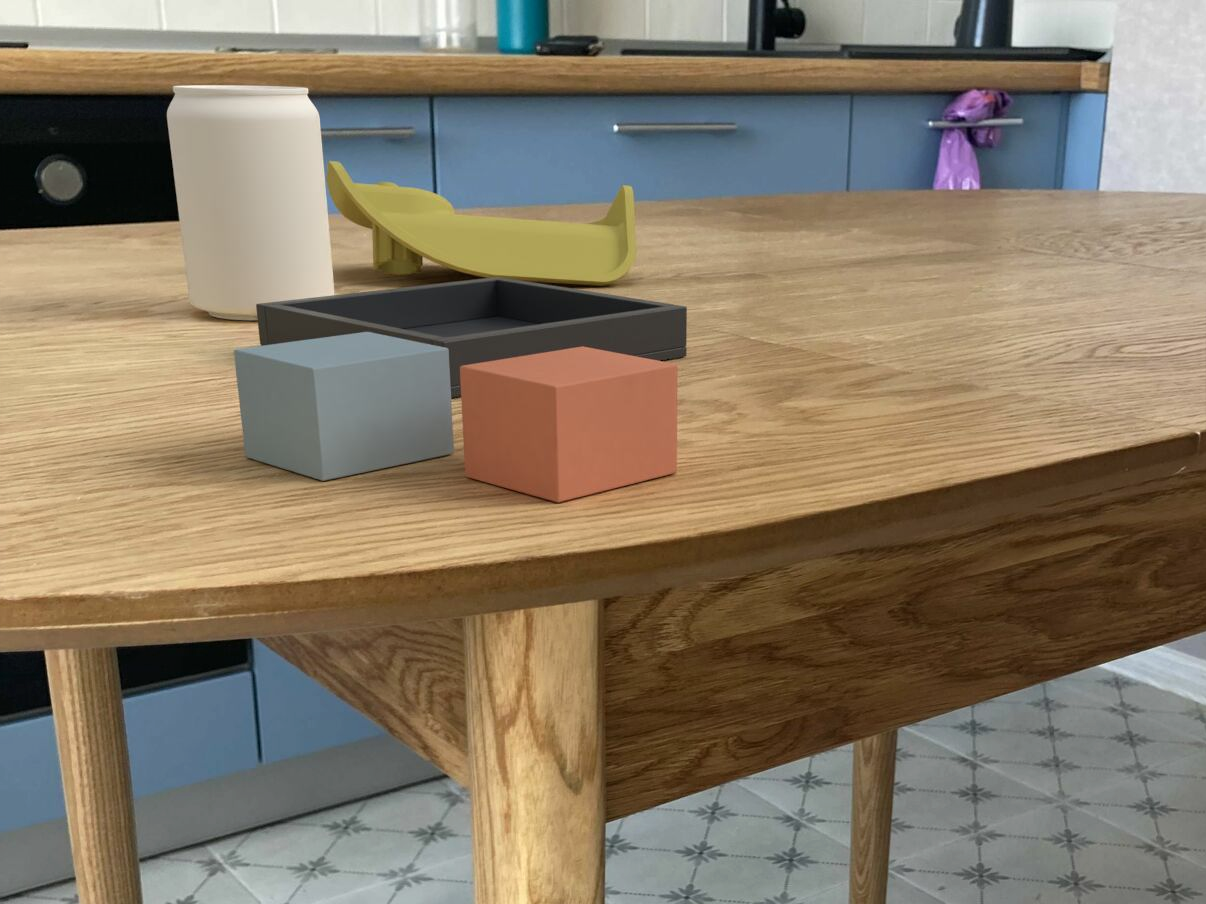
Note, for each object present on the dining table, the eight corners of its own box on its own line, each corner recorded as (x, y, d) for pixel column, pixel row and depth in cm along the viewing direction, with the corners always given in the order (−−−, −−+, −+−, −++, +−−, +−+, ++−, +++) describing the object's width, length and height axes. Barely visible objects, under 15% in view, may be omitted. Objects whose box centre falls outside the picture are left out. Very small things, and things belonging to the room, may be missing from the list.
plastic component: (608, 228, 112) (636, 174, 102) (610, 329, 112) (638, 284, 102) (325, 207, 107) (327, 148, 97) (327, 313, 106) (328, 264, 97)
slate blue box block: (244, 457, 58) (232, 349, 56) (375, 432, 62) (368, 331, 61) (322, 481, 55) (312, 368, 53) (454, 453, 59) (449, 347, 58)
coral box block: (464, 477, 56) (458, 365, 54) (584, 450, 60) (582, 345, 58) (557, 503, 53) (554, 386, 51) (677, 473, 57) (678, 363, 56)
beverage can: (161, 317, 87) (131, 86, 82) (243, 298, 94) (219, 84, 89) (287, 326, 85) (264, 90, 80) (361, 306, 92) (344, 87, 87)
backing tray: (260, 355, 77) (255, 303, 76) (499, 322, 88) (498, 276, 87) (446, 399, 68) (443, 341, 67) (686, 356, 79) (687, 306, 78)
